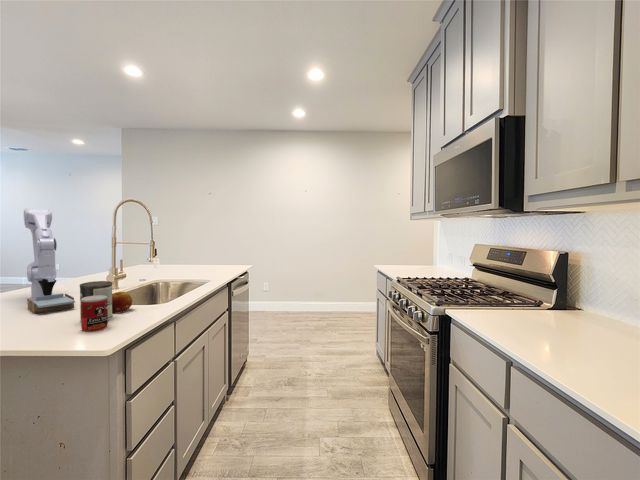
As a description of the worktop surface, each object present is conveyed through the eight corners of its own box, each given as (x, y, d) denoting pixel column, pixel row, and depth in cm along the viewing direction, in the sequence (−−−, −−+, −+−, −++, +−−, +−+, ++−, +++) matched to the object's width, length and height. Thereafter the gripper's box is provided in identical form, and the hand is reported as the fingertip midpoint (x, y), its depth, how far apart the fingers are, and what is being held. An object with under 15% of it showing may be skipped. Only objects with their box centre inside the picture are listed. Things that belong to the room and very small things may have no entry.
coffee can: (76, 324, 114) (75, 286, 113) (84, 317, 123) (83, 281, 122) (110, 321, 118) (109, 285, 117) (114, 314, 127) (114, 280, 127)
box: (27, 308, 133) (27, 298, 132) (65, 302, 143) (65, 293, 143) (34, 314, 125) (34, 303, 125) (74, 307, 136) (73, 297, 136)
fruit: (103, 315, 126) (102, 295, 126) (108, 309, 134) (108, 291, 134) (130, 313, 130) (130, 294, 129) (134, 307, 138) (134, 289, 138)
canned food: (87, 333, 105) (86, 301, 105) (77, 328, 109) (76, 298, 109) (112, 327, 112) (111, 297, 111) (101, 323, 116) (101, 294, 115)
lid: (31, 303, 131) (31, 297, 131) (66, 298, 140) (66, 292, 140) (38, 308, 123) (38, 302, 123) (74, 302, 133) (74, 297, 133)
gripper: (30, 264, 138) (31, 294, 139) (38, 268, 129) (39, 300, 130) (51, 263, 144) (51, 292, 144) (60, 266, 135) (61, 297, 135)
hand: (47, 296), depth 137 cm, fingers closed
